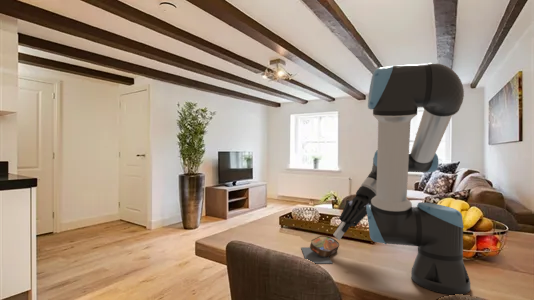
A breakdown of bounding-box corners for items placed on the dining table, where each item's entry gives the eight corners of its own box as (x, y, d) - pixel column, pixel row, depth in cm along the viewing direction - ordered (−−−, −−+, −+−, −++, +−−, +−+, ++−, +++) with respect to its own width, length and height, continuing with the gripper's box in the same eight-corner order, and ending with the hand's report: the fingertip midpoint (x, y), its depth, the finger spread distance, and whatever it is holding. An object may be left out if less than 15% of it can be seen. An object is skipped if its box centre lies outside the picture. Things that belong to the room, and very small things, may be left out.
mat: (332, 263, 99) (332, 263, 99) (307, 263, 99) (307, 263, 99) (323, 248, 115) (323, 247, 115) (301, 248, 115) (301, 247, 115)
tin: (326, 253, 101) (307, 240, 106) (323, 260, 101) (304, 247, 106) (343, 243, 113) (325, 232, 118) (340, 250, 113) (322, 238, 118)
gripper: (386, 199, 110) (353, 248, 103) (362, 195, 122) (331, 238, 115) (376, 187, 108) (341, 236, 101) (352, 183, 120) (320, 227, 113)
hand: (336, 237), depth 108 cm, fingers closed
